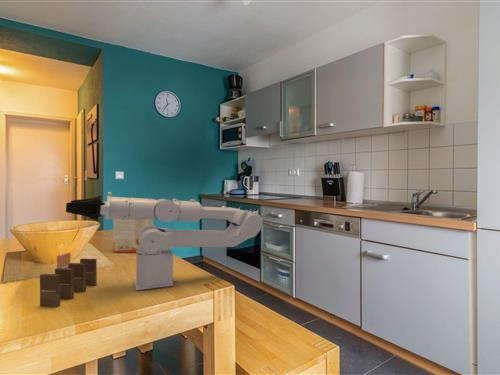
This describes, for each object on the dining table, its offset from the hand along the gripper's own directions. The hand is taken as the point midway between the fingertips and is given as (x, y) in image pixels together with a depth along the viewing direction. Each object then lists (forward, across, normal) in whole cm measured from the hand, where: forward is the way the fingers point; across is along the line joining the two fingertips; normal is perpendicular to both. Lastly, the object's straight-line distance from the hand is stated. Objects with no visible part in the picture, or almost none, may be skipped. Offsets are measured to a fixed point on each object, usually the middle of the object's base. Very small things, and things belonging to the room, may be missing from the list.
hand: (68, 206), depth 74 cm
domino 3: (-1, +2, +22) cm, 22 cm away
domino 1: (+1, +6, +22) cm, 23 cm away
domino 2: (+1, -14, +22) cm, 26 cm away
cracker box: (-18, -42, +21) cm, 50 cm away
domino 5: (-5, -6, +21) cm, 23 cm away
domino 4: (-3, -2, +22) cm, 22 cm away
